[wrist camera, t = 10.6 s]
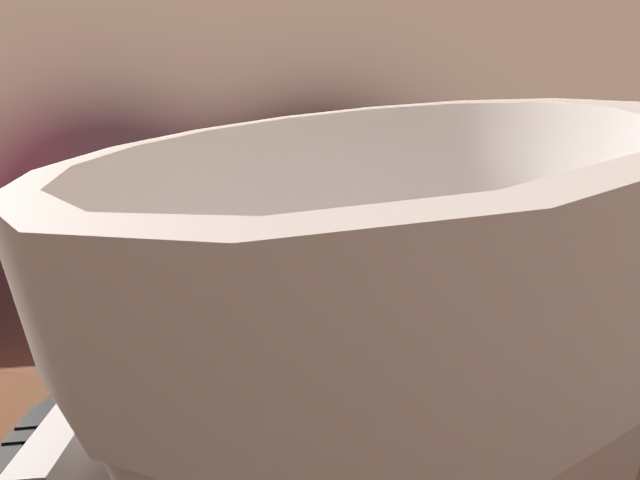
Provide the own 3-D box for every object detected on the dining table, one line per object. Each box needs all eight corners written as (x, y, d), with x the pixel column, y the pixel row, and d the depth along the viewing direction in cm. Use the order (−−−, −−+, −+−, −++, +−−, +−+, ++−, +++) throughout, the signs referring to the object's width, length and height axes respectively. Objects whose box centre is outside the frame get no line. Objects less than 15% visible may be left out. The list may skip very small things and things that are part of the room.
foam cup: (262, 508, 17) (192, 122, 13) (553, 532, 15) (580, 88, 11) (97, 976, 8) (-279, 262, 4) (728, 1172, 7) (1171, 209, 2)
